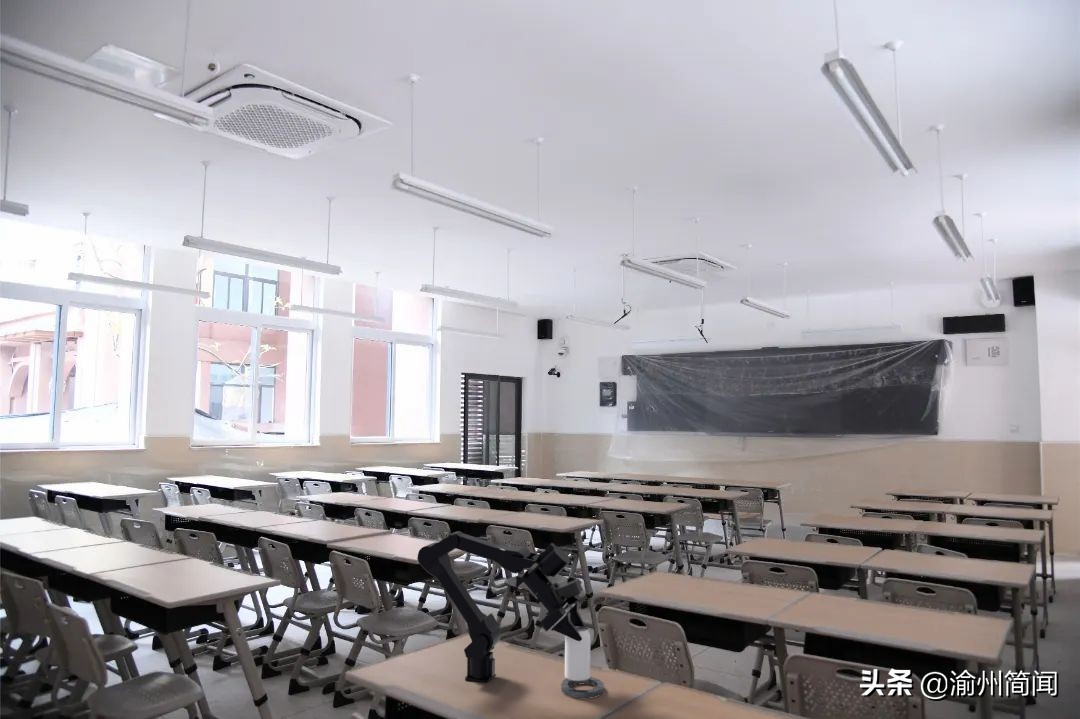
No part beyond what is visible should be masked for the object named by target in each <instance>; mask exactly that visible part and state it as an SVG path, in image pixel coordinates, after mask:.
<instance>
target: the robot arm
mask: <svg viewBox="0 0 1080 719" xmlns="http://www.w3.org/2000/svg"><path fill="white" fill-rule="evenodd" d="M455 549H456V550H460V551H463V552H465V553H468V554H471V555H474V556H476V557H477V556H478V557H480V558H483V559H487V560H490V561H493V562H494V563H496V564H497V565H498V566H499V567H501V568H502V569H504V570H506V571H508V572H509V573H511V574H518V575H517V576H515V578H516V579H515V580H516V581H515V582H516V583H515V588H519V587H520V586H522V585H524V586H525V587H526V588H527V589H528V590H529V592H530V593H531V594H532V595H533V596H534V597H535V599H536V600H535V601H534V602H535V603H536V604H537V605H539V604H541V605H542V607H543V608H544V609H545V611H547V612H546V613H545V614H546V616H544V618H542V620H541V621H540V622H541V628H542V629H543V630H544V631H545V632H546V633H547V632H548V631H549V630H551V631H552V632H553V631H554V632H557V633H559V634H561V635H564V636H565V635H566V636H568V637H570V638H572V639H574V640H576V641H581V640H582V637H581V636H580V634H579V632H578V631H577V629H576V628H575V626H582V627H586V625H585V622H584V620H583V618H582V616H581V614H580V612H579V606H580V601H578V600H579V599H580V598H581V596H580V594H581V593H582V592H583V591H584V589H583V587H582V582H583V581H581V580H580V578H579V577H578V578H577V577H576V576H575V575H572V576H569V577H568V578H567V581H566V583H564V584H561V585H560V584H559V583H558V582H554V583H553V581H552V580H550V577H552V578H555V577H557V576H558V575H559V573H561V571H563V569H566V567H567V566H568V565H569V564H570V563H571V559H570V557H569V555H568V554H567V553H566V551H565V550H563V549H562V548H560V547H559V546H557V545H556V544H555V543H552V542H551V543H550V544H549V545H547V547H546V549H545V550H544V551H543V552H542V553H541V554H540V553H535V552H533V551H530V549H528V547H527V548H526V547H524V546H517V545H516V546H515V545H501V544H498V543H495V542H491V541H488V540H485V539H481V538H478V537H475V536H472V535H469V534H466V533H464V532H462V531H460V530H459V531H455V532H452V533H451V534H449V535H448V536H446V537H445V538H443V539H442V540H440V541H438V542H437V541H436V542H432V543H429V544H427V545H424V546H422V547H421V548H420V549H419V550H418V553H417V556H416V559H417V562H418V563H419V564H418V565H420V566H421V567H422V569H424V570H425V571H426V573H428V574H430V575H431V576H433V577H434V578H435V579H437V581H438V582H439V584H440V585H441V586H442V588H443V590H444V591H445V593H446V594H447V595H448V597H449V598H450V600H451V601H452V603H453V604H454V606H455V608H456V609H457V611H458V612H459V613H460V616H461V617H462V618H463V620H464V621H465V623H466V624H467V631H468V636H469V638H470V640H471V642H470V643H469V644H468V645H467V646H466V647H465V648H464V649H463V651H464V655H465V657H466V659H467V661H466V664H467V665H466V668H467V670H466V671H467V672H466V676H465V677H464V680H465V681H473V682H482V683H483V682H484V683H489V681H491V679H492V678H493V677H494V675H495V674H496V669H495V668H496V658H494V651H493V650H494V649H495V647H496V645H497V644H498V643H499V642H500V641H501V638H502V630H501V624H500V623H499V622H498V621H497V620H496V618H495V615H494V614H493V613H492V612H491V613H489V614H488V615H487V614H485V613H484V612H482V611H481V609H480V608H479V607H478V604H477V603H476V602H475V600H474V599H473V598H472V596H471V595H470V593H469V592H468V590H467V588H466V587H465V585H464V584H463V583H462V581H461V579H460V578H459V577H458V575H457V574H456V572H455V570H454V569H453V567H452V563H451V557H450V555H449V553H450V552H453V551H454V550H455ZM536 564H537V565H536ZM535 565H536V567H535V568H532V567H534V566H535ZM525 569H526V570H525ZM524 570H525V571H524ZM523 571H524V573H522V574H519V573H521V572H523Z"/></svg>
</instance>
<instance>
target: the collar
mask: <svg viewBox="0 0 1080 719" xmlns="http://www.w3.org/2000/svg"><path fill="white" fill-rule="evenodd" d="M579 683H584V684H583V685H586V684H590V685H589V686H591V685H593V686H592V687H594V686H595V687H596V688H595V687H594V688H591V689H576V688H573V687H572V686H571V685H573V686H575V685H574V684H578V685H580V684H579ZM569 686H570V687H569ZM560 687H561V688H560V689H561V690H562V691H561V692H562V693H563V694H564V695H565V696H567V697H569V696H571V697H570V698H572V697H573V699H578V698H590V697H595V696H598V695H600V696H602V695H603V694H604V690H605V683H603V681H601V679H599V678H596V677H594V676H590V678H589V679H588V680H586V681H571V680H568V679H566V678H565V679H563V681H562V682H561V684H560ZM601 694H602V695H601ZM574 697H575V698H574ZM598 697H599V696H598ZM590 699H591V698H590Z"/></svg>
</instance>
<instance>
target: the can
mask: <svg viewBox="0 0 1080 719" xmlns="http://www.w3.org/2000/svg"><path fill="white" fill-rule="evenodd" d="M575 628H576V629H577V631H578V632H579V634H580V636H581V637H582V640H581V641H576V640H574V639H572V638H570V637H568V636H566V635H564V678H565V679H568V680H571V681H586V680H588V679H589V678H590V677H591V633H590V630H589V629H590V628H589V627H587V626H585V627H582V626H575Z"/></svg>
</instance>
